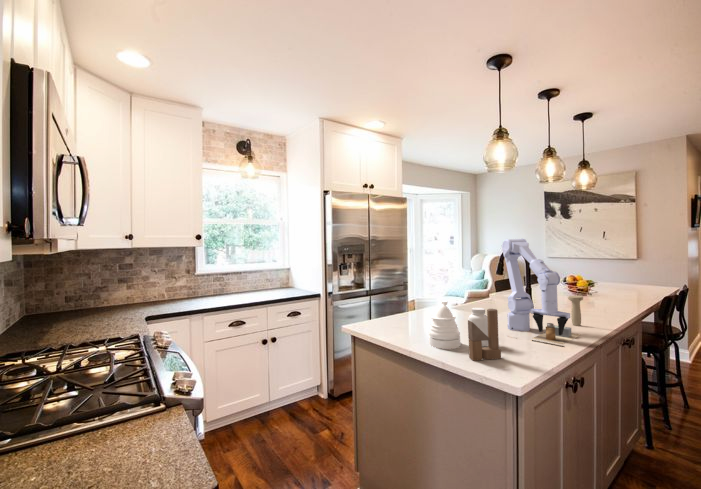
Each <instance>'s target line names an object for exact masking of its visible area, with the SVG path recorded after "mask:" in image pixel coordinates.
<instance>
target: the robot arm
mask: <svg viewBox="0 0 701 489" xmlns="http://www.w3.org/2000/svg"><path fill="white" fill-rule="evenodd" d="M529 246H530V244H529V242H528V241H527V240H526V239H525V238H511V239H510V238H509V239H508V238H505V239H504V240H503V241H502V245H501V249H502V253H503V257H504V260H505V264H506V265H505V266H506V270H507V275H508V279H509V284H510V289H511V293H510V294H509V295H508V297H507V307H508V309H509V310H508V311H510V312H507V330H509V331H521V332H529V331H530V330H531V324H530V323H531V322H530V321H531V319H530V314H532V318H533V319H534V322H535V323H536V326H537V328H538V332H539V333H540V332H543V331H544V326H543V325H544V323H543V322H544V320H543V319H544V316H549V317H555V318H556V317H557V319H556V321H557V326H558V327H559V335H563V330H564V327H566V324H567V322H568V320H569V319H570V318H571V313H570V312H565V311H559V306H558V305H559V304H558V285H559V284H560V282H561V277H560V275H559V273H558V272H557V271H553V270H551V268H549V266H548V265H547V264H546V263H545V262H544V260H543V259H540V258H539V259H538V258H537V257H536V256H535V255H534V252H533V251H532V250H531V249H530V247H529ZM521 256H522V257H523V259H525V261H527V262H528V263H529V269H530V270H531V271H532V272H533V273H534V274H535V276H536V277H537V282H538V285H539V289H540V290H541V291H540V293H541V295H540V296H541V309H540V308H534V302H533V300H532V299H531V295H530V294H529V293H527V292H526V291H525V288H524V283H523V278H522V274H521V270H520V266H519V260H518V259H519V257H521Z"/></svg>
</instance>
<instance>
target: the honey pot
mask: <svg viewBox="0 0 701 489" xmlns="http://www.w3.org/2000/svg"><path fill="white" fill-rule="evenodd" d="M440 303H441V305H440V306H439V307H438V308H437V309H436V311H435V313H434V314H433V315H431V316H430V318H431V319H432V322H431V323H430V327H429V328H430V329H429V330H428V343H429V344H430V345H431V346H430V345H429V344H428V345H429V346H430V347H432V346H433V347H432V348H435V347H436V348H435V349H440V348H442V349H441V350H454V349H457V347H458V348H460V347H461V332H460V331H459V327H458V324H457V322H456V316H455V315H453V313H452V311H451V309H449V308H448V306H447V305H448V301H447V300H441V302H440ZM459 346H460V347H459ZM451 348H452V349H451ZM453 348H454V349H453Z"/></svg>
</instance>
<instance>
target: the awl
mask: <svg viewBox="0 0 701 489" xmlns="http://www.w3.org/2000/svg"><path fill="white" fill-rule="evenodd" d="M554 325H555V324H554V323H551V322H547V323H546V326H545V332H546V339H547V340H556V337H555V327H554Z"/></svg>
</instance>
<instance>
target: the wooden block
mask: <svg viewBox="0 0 701 489" xmlns="http://www.w3.org/2000/svg"><path fill="white" fill-rule="evenodd" d="M498 311H499V310H498V309H497V308H487V309H486V316H487V322H488V336H487V335H485V334H484V333H483V332H482V331H481V330H480V329H479V328H478V327H477V326H476V325H475V324H474V323H473V322H471V321H469V319H467V336H468V355H469V356H468V357H469V358H468V359H470V360H472V362H473V361H474V362H476V361H478V362H479V361H483V360H485V361H486V360H487V361H489V360H490V361H491V360H501V359H502V350H501V348H500V344H499V343H500V342H499V341H500V340H499V339H500V338H499V315H498V314H499V313H498ZM485 340H488V346H483V347H482V341H485Z"/></svg>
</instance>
